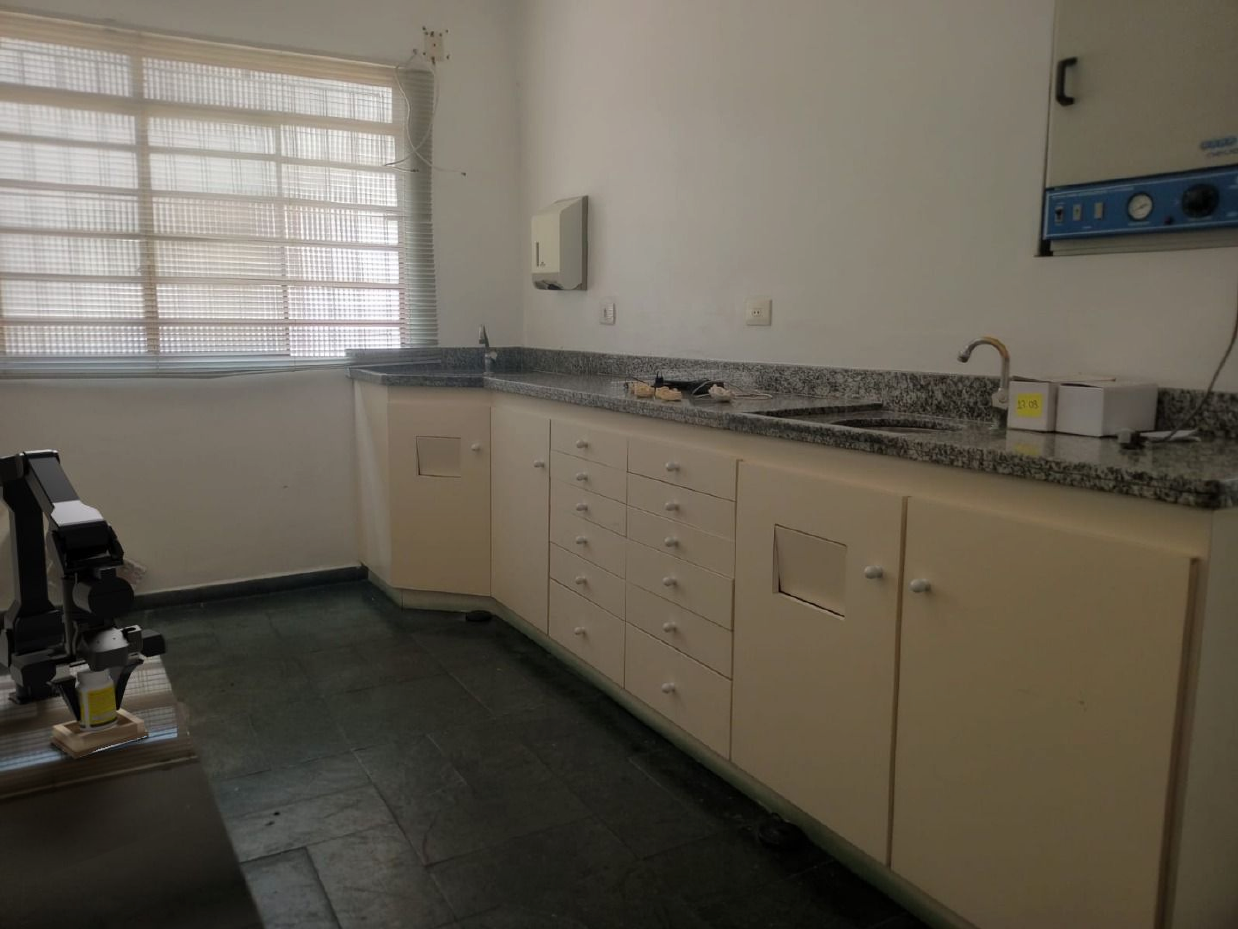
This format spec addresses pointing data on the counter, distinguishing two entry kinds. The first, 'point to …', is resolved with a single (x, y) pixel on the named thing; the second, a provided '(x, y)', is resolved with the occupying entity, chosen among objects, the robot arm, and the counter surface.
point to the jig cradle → (97, 735)
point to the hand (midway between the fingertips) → (97, 715)
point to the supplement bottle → (96, 700)
